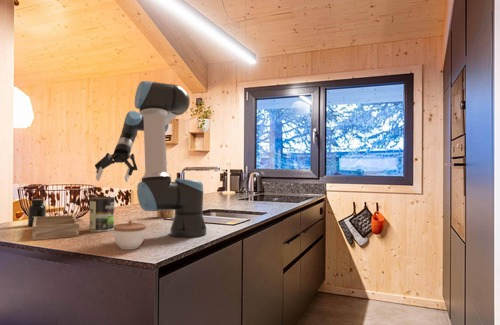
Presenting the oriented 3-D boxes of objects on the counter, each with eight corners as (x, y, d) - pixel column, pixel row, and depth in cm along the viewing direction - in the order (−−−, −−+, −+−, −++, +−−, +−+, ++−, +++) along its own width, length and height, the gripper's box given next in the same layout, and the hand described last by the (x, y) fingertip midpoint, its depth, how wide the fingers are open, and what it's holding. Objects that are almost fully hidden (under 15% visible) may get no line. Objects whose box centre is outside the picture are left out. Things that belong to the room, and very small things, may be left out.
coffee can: (118, 228, 162) (119, 197, 162) (105, 232, 152) (105, 199, 152) (98, 227, 164) (99, 196, 164) (83, 231, 154) (84, 198, 154)
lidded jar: (132, 252, 120) (132, 224, 120) (106, 249, 123) (107, 222, 123) (151, 245, 130) (152, 219, 130) (127, 243, 133) (127, 217, 133)
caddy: (78, 236, 144) (79, 223, 144) (32, 239, 136) (32, 226, 136) (74, 225, 166) (74, 215, 166) (33, 228, 158) (34, 217, 158)
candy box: (173, 216, 201) (173, 188, 201) (173, 217, 197) (174, 189, 197) (157, 216, 199) (157, 188, 199) (156, 217, 195) (157, 189, 195)
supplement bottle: (32, 227, 161) (33, 200, 161) (25, 225, 164) (25, 199, 164) (48, 225, 167) (48, 199, 167) (40, 223, 170) (40, 198, 170)
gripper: (149, 154, 187) (139, 185, 172) (101, 153, 187) (87, 183, 172) (146, 143, 182) (136, 174, 167) (97, 142, 182) (82, 173, 167)
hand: (111, 179), depth 169 cm, fingers open, 13 cm apart
